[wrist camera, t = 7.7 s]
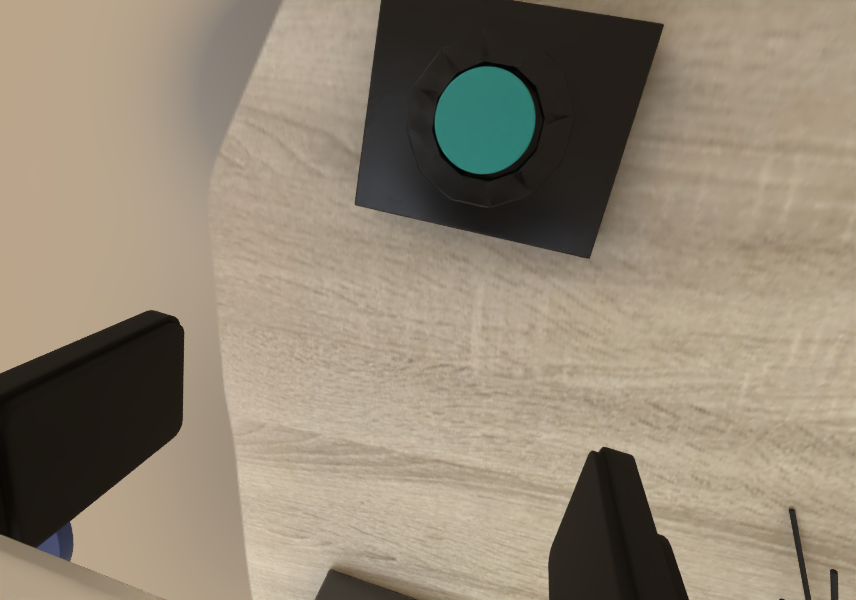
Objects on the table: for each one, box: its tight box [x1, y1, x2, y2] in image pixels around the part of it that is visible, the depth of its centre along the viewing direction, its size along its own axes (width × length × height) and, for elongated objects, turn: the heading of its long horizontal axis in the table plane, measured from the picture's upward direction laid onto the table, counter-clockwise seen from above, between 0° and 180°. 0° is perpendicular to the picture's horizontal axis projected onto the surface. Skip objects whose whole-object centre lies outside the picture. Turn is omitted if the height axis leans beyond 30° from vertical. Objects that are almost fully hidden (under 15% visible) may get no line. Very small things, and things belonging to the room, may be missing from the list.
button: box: [435, 66, 536, 174], centre depth 19 cm, size 4×4×2 cm
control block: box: [355, 0, 664, 259], centre depth 22 cm, size 12×10×4 cm
